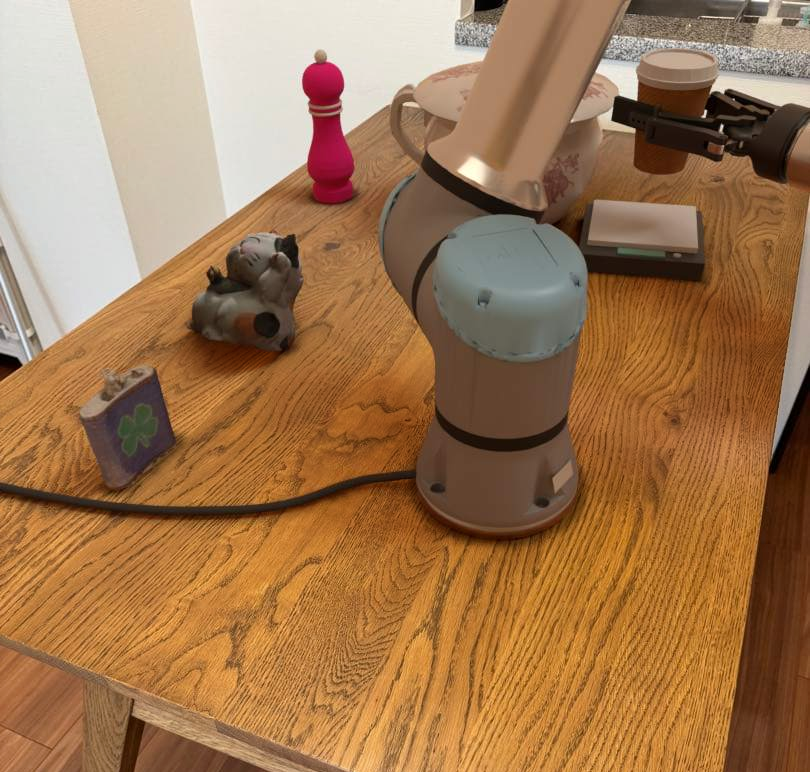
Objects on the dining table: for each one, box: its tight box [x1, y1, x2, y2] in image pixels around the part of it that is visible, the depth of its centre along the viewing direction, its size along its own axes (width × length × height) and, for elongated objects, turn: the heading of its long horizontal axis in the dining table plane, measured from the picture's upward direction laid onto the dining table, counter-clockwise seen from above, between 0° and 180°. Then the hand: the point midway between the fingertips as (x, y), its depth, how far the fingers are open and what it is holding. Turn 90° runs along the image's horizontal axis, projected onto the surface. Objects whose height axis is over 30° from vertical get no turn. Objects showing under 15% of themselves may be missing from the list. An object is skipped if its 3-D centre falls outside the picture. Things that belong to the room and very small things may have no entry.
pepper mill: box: [301, 48, 356, 204], centre depth 115 cm, size 7×7×20 cm
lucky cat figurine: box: [186, 229, 305, 352], centre depth 90 cm, size 15×12×14 cm
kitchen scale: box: [578, 199, 706, 282], centre depth 106 cm, size 16×16×3 cm
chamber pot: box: [388, 60, 620, 226], centre depth 109 cm, size 28×28×21 cm
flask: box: [78, 364, 177, 493], centre depth 74 cm, size 9×3×11 cm, turn 151°
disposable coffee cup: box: [632, 47, 721, 176], centre depth 95 cm, size 10×10×12 cm
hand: (638, 100), depth 97 cm, fingers closed on disposable coffee cup, 8 cm apart
